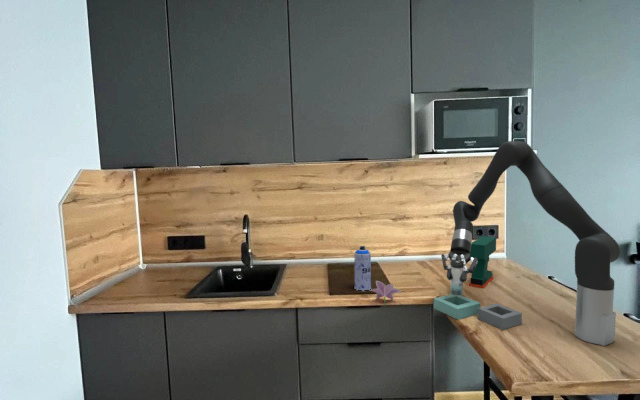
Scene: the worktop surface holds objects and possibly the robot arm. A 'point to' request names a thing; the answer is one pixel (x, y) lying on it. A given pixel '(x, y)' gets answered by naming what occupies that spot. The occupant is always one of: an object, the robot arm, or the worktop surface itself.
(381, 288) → the lily
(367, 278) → the aerosol can
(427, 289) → the worktop surface
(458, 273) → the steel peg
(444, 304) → the teal square tray
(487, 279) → the power tool
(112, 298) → the worktop surface
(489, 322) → the socket block
